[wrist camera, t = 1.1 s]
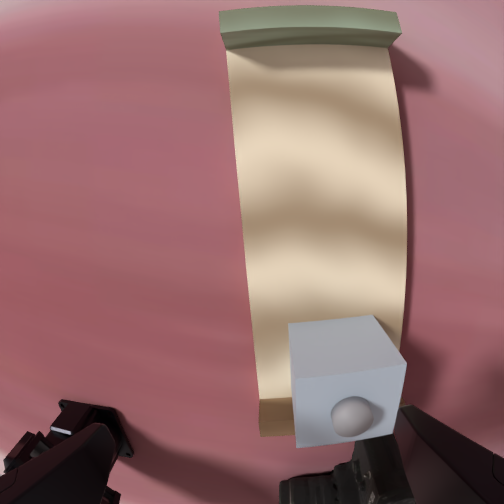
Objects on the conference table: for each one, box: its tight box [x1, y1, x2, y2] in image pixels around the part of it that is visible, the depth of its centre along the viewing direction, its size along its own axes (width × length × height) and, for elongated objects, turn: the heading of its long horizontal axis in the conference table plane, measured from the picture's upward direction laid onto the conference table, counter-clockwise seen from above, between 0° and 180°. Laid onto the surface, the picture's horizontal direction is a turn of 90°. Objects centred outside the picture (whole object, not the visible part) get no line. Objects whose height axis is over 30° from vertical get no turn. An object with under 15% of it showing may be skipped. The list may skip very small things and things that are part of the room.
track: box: [219, 5, 407, 437], centre depth 17 cm, size 26×10×4 cm, turn 5°
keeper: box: [288, 315, 407, 448], centre depth 16 cm, size 5×6×7 cm
